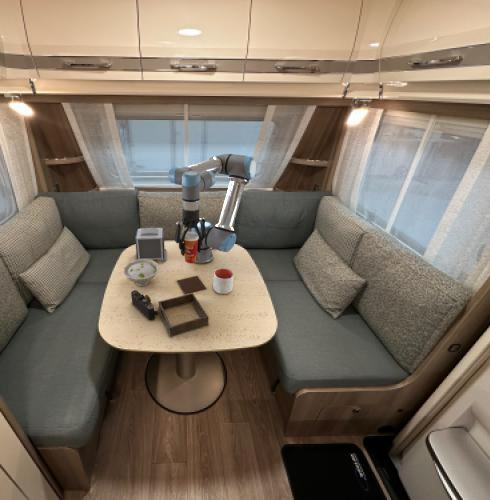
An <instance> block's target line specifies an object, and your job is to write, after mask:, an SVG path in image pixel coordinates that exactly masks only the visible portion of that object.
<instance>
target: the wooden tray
mask: <svg viewBox="0 0 490 500" xmlns="http://www.w3.org/2000/svg"><path fill="white" fill-rule="evenodd" d="M191 303H192V305H193V306H194V308H195V310H196V312H197V313H198V314H199V316H200V317H199V318H194V319H191V320H188V321H184V322H181V323H178V324H175V325H172V324H171V323H170V320H169V318H168V316H167V314H166V312H165V310H167V309H171V308H175V307H180V306H183V305H187V304H191ZM157 305H158V313H159V314H160V317H161V318H162V321H163V323H164V325H165V329H166V330H167V333H168V334H169V337H173V336H177V335H181V334H183V333H187V332H190V331H193V330H197V329H201V328H203V327H207V326H209V316H208V314H207V313H206V311H205V310H204V308H203V306H202V305H201V303H200V302H199V300H198V299H197V297H196V295H195V294H194V292H191V293H187V294H183V295H180V296H176V297H171V298H168V299H164V300H159V301H157Z"/></svg>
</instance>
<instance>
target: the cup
mask: <svg viewBox="0 0 490 500" xmlns="http://www.w3.org/2000/svg"><path fill="white" fill-rule="evenodd" d="M234 277H235V275H234V272H233V270H231V269H229V268H225V267H222V268H221V267H220V268H217V269H215V270H214V271H213V281H212V289H213V290H214V292H216V293H218V294H222V295H226V294H229V293H231V292H232V290H233V286H234V285H233V284H234Z"/></svg>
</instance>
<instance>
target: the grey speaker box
mask: <svg viewBox="0 0 490 500" xmlns="http://www.w3.org/2000/svg"><path fill="white" fill-rule="evenodd" d="M134 243H135V253H136V254H135V260H140V259H148V260H153V261H154V260H158V262H166V261H167V249H166V248H165V246H166V245H165V230H164V229H163V227H145V228H143V227H142V228H141V227H140V228H137V230H136V232H135V237H134Z"/></svg>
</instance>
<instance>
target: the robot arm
mask: <svg viewBox="0 0 490 500" xmlns="http://www.w3.org/2000/svg"><path fill="white" fill-rule="evenodd" d="M255 159H256V158H255V157H253V156H249V155H244V154H243V155H242V154H236V153H235V154H234V153H222V154H218V155H214V156H211V157H209V159H207V160H204V161H201V162H198V163H195V164H191V165H187V166H183V167H177V166H176V167H174V166H173V167H171V168H170V169H169V170H168V173H167V179H168V181H169V182H170V183H171V184H173V185H175V186H176V185H177V186H181V187H182V188H181V195H182V196H181V198H182V199H181V202H182V203H181V205H182V211H181V213H182V214H181V215H182V219H181V221H176V222H175V226H176V228H175V235H174V242H175V243H176V244H178V249H179V250H180V255H181V256H182V257H184V243H183V241H184V238H185V236H186V233H187V232H189V230H191V231H190V232H196V233H197V234H198V236H199V239H198V246H197V257H196V261H195V262H194V263H193V264H196V265H197V264H199V265H203V264H208V263H210V262H212V261H213V258H214V255H213V252H212V251H213V250H216V251H219V252H222V253H229V252H230V251H231V250H233V248H234V246H235V244H236V242H237V234H236V233H235V231H236V230H235V228H234V225H235V222H236V219H237V216H238V215H237V214H238V211H239V208H240V205H241V201H242V199H243V194H244V191H245V187H246V185H248V184H249V183H250V180H253V179H254V178H255V177H256V172H257V163H256V160H255ZM216 175H225V176H228V177H227V179H228V180H229V184H228V188H227V192H226V195H225V198H224V202H223V206H222V209H221V213H220V216H219V220H218V223H217V224H215V225H214V227H213V226H212V225H213V224H212V223H211V222H210V221H206V219H205V217H200V205H201V203H200V201H201V199H200V197H201V193H202V192H204V191H207V190H209V189H211V188H212V187H213V186H214V185H215V184H216V181H217V179H216V178H217V177H216ZM182 225H183V226H182Z"/></svg>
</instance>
